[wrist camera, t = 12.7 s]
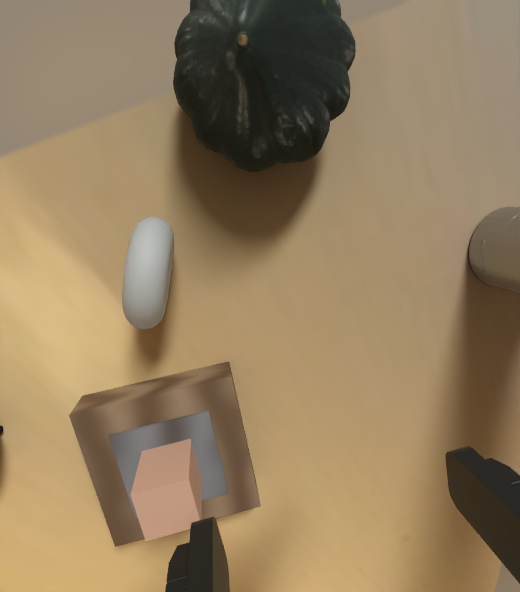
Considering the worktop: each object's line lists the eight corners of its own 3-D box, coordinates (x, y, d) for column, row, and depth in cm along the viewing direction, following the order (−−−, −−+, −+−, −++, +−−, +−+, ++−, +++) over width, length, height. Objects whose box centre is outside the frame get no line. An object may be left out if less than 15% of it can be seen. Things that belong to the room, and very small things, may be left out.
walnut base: (228, 361, 41) (231, 378, 37) (255, 481, 45) (261, 508, 41) (82, 395, 39) (68, 417, 35) (123, 517, 43) (114, 549, 39)
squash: (398, 22, 31) (333, -154, 18) (344, 200, 34) (256, 154, 21) (262, 27, 38) (146, -98, 25) (227, 174, 41) (109, 128, 28)
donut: (168, 314, 39) (156, 347, 29) (134, 310, 38) (111, 343, 29) (180, 219, 37) (171, 221, 27) (144, 213, 36) (123, 213, 27)
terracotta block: (191, 438, 38) (188, 479, 32) (201, 479, 39) (201, 525, 33) (141, 451, 37) (130, 494, 31) (154, 492, 38) (145, 541, 33)
